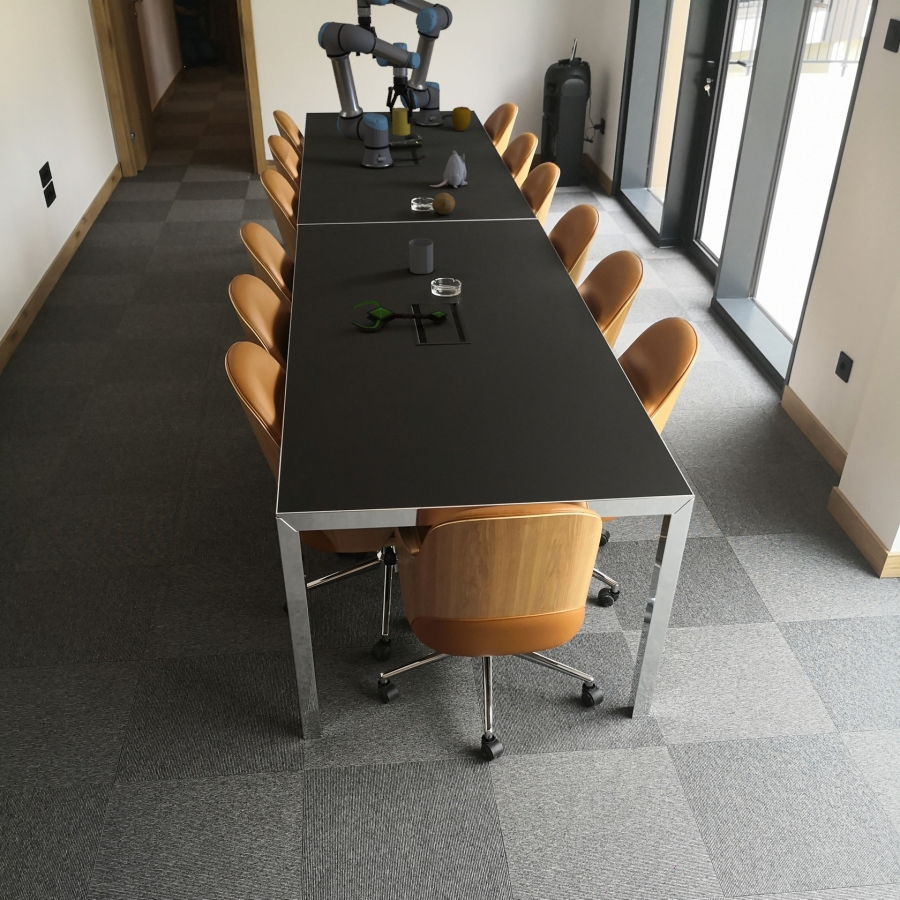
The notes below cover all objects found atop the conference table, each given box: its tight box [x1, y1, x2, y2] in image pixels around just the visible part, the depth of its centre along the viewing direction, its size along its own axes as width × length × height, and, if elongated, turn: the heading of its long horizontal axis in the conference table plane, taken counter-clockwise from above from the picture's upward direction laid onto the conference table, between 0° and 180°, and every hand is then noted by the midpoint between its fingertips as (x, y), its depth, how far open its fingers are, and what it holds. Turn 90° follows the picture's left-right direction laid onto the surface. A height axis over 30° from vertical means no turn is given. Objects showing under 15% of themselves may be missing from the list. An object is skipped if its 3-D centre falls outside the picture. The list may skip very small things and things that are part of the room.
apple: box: [451, 105, 472, 132], centre depth 487 cm, size 11×11×13 cm
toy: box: [428, 149, 468, 189], centre depth 390 cm, size 9×24×15 cm, turn 137°
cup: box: [408, 237, 434, 275], centre depth 305 cm, size 8×8×10 cm
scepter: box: [350, 299, 449, 332], centre depth 268 cm, size 6×13×30 cm
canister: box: [392, 107, 411, 137], centre depth 453 cm, size 9×9×12 cm
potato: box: [431, 192, 456, 216], centre depth 360 cm, size 10×14×8 cm
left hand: (401, 122), depth 453 cm, fingers closed on canister, 9 cm apart
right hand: (366, 57), depth 496 cm, fingers open, 13 cm apart
